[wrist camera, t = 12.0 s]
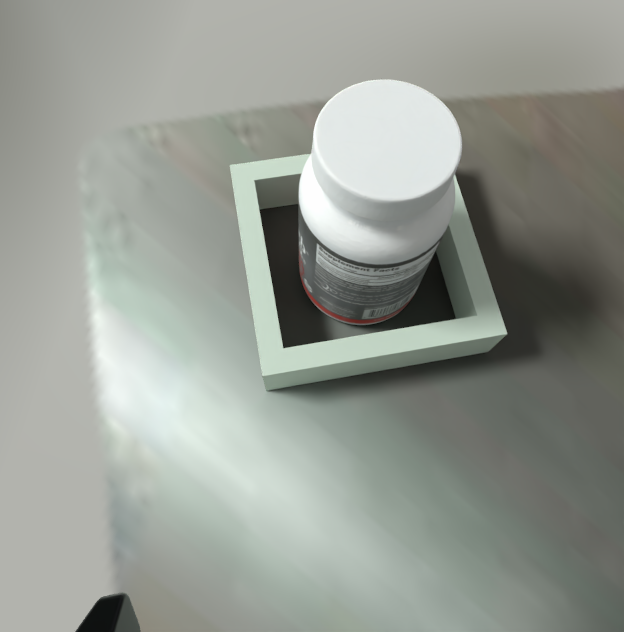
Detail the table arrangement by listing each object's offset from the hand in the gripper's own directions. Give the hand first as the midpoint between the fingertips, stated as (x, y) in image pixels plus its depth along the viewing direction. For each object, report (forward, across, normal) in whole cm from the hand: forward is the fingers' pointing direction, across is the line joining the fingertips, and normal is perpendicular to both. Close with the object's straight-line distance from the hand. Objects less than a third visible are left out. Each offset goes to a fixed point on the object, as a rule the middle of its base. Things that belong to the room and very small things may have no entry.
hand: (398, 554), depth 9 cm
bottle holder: (+18, -3, +1) cm, 18 cm away
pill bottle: (+18, -3, +2) cm, 18 cm away
